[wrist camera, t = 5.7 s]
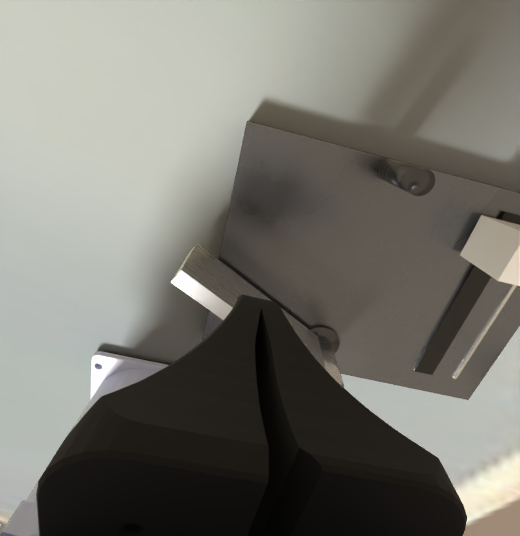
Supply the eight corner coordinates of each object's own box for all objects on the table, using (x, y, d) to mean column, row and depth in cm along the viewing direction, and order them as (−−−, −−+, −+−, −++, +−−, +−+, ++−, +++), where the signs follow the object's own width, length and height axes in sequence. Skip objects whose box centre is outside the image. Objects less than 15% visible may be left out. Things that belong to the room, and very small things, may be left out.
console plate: (458, 386, 22) (516, 465, 17) (204, 333, 21) (184, 402, 16) (575, 207, 17) (711, 244, 12) (248, 121, 16) (239, 119, 10)
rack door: (336, 344, 19) (349, 386, 16) (319, 358, 20) (329, 402, 17) (200, 239, 17) (185, 265, 14) (185, 257, 17) (166, 287, 14)
